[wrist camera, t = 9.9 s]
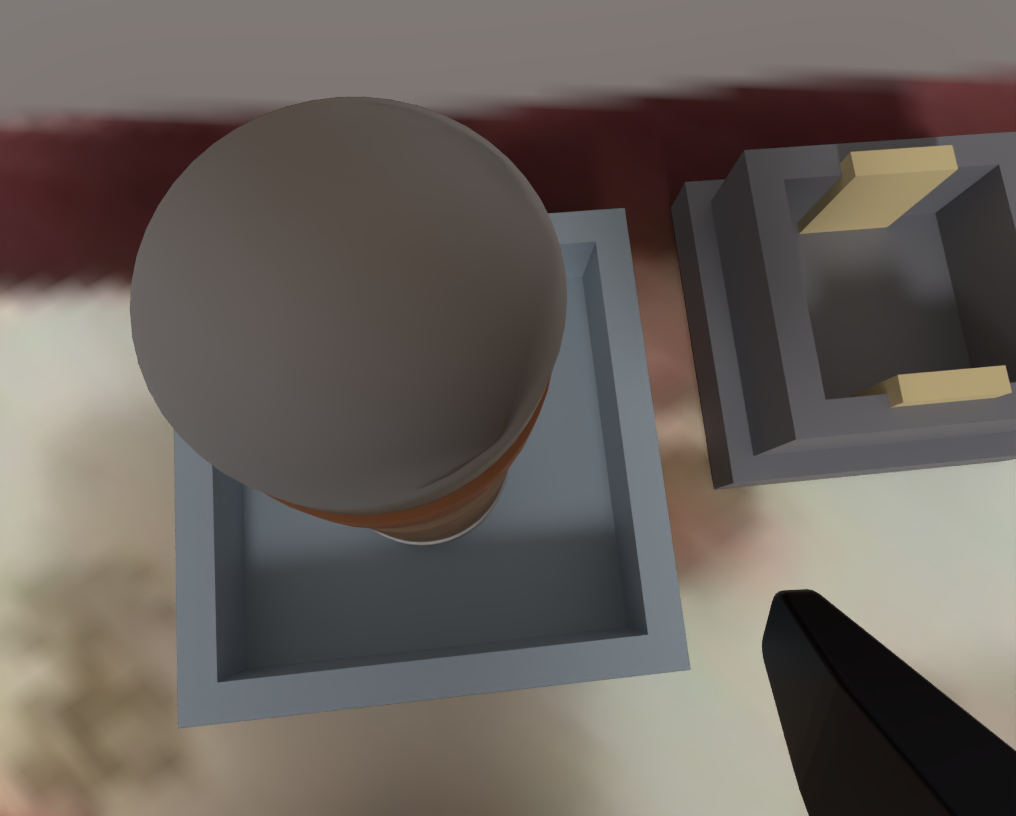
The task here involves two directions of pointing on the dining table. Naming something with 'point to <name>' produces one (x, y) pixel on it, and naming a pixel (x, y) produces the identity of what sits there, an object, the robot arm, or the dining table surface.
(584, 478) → the tray
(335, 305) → the peg
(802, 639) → the robot arm
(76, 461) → the dining table surface
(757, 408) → the socket block
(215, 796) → the dining table surface
